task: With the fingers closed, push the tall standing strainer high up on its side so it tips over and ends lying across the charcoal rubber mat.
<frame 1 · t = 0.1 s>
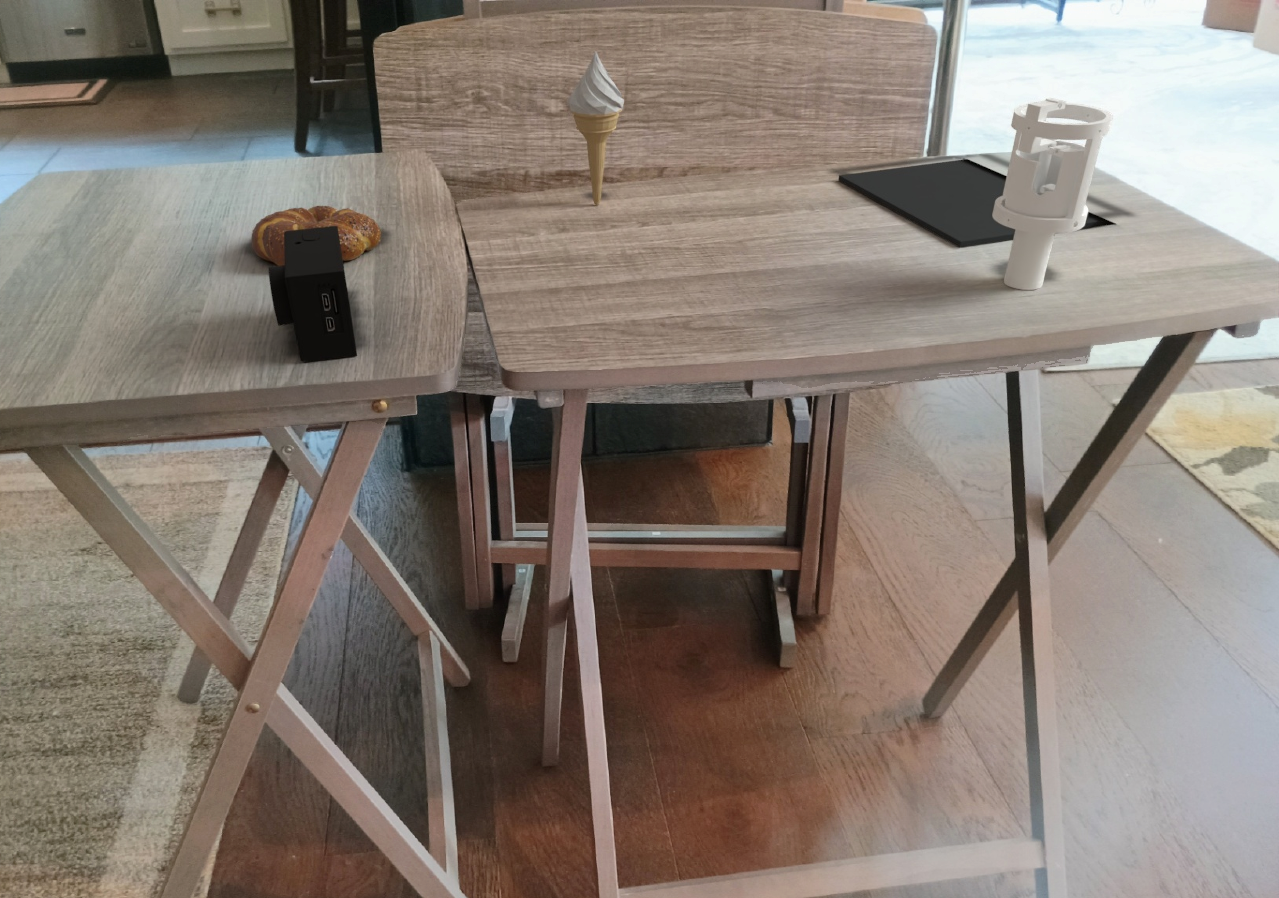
digital camera: (319, 335, 83), on the table
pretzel: (319, 252, 99), on the table
ice cream cone: (596, 206, 108), on the table
mat: (971, 200, 105), on the table
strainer: (1022, 284, 88), on the table
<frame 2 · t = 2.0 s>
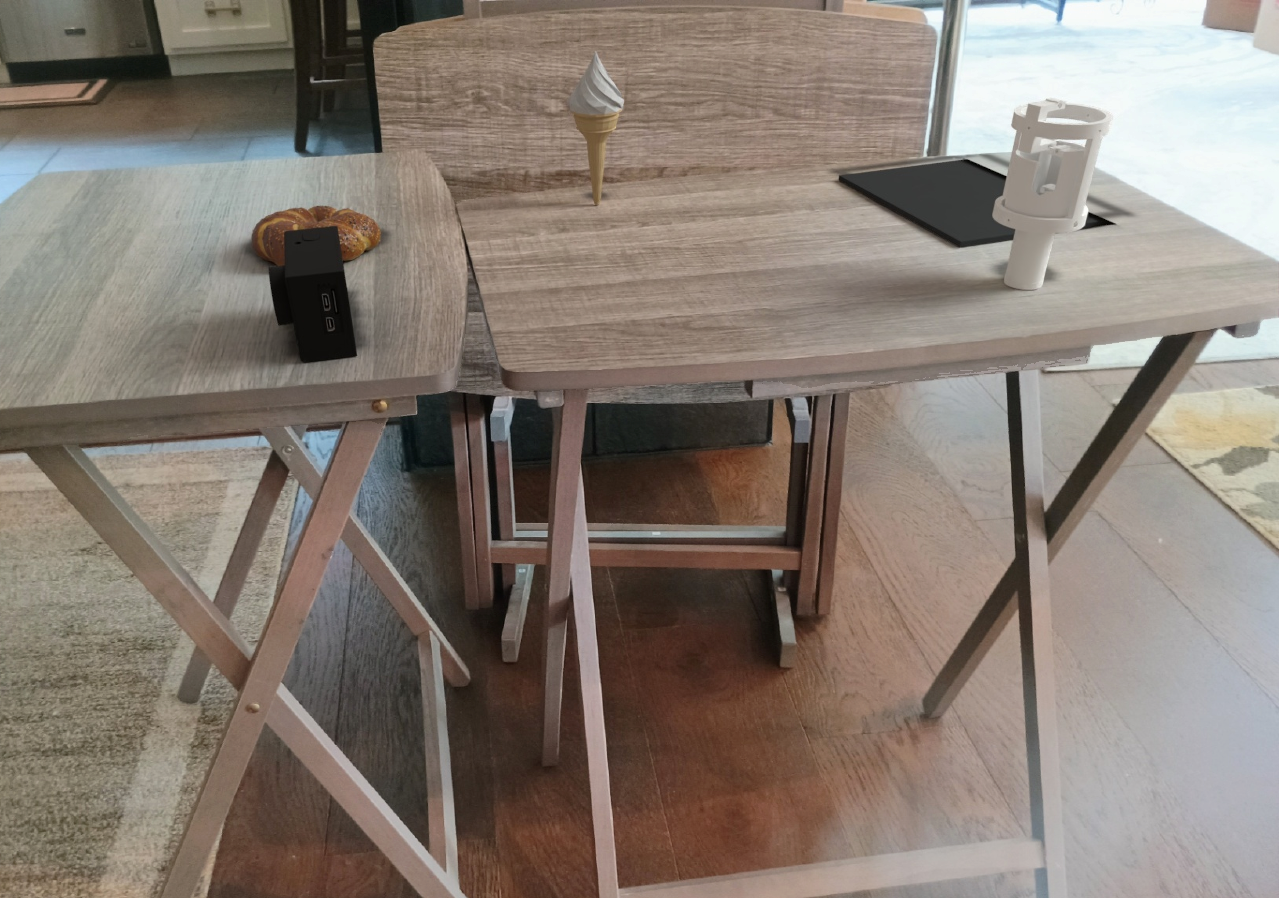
nothing on the table moved.
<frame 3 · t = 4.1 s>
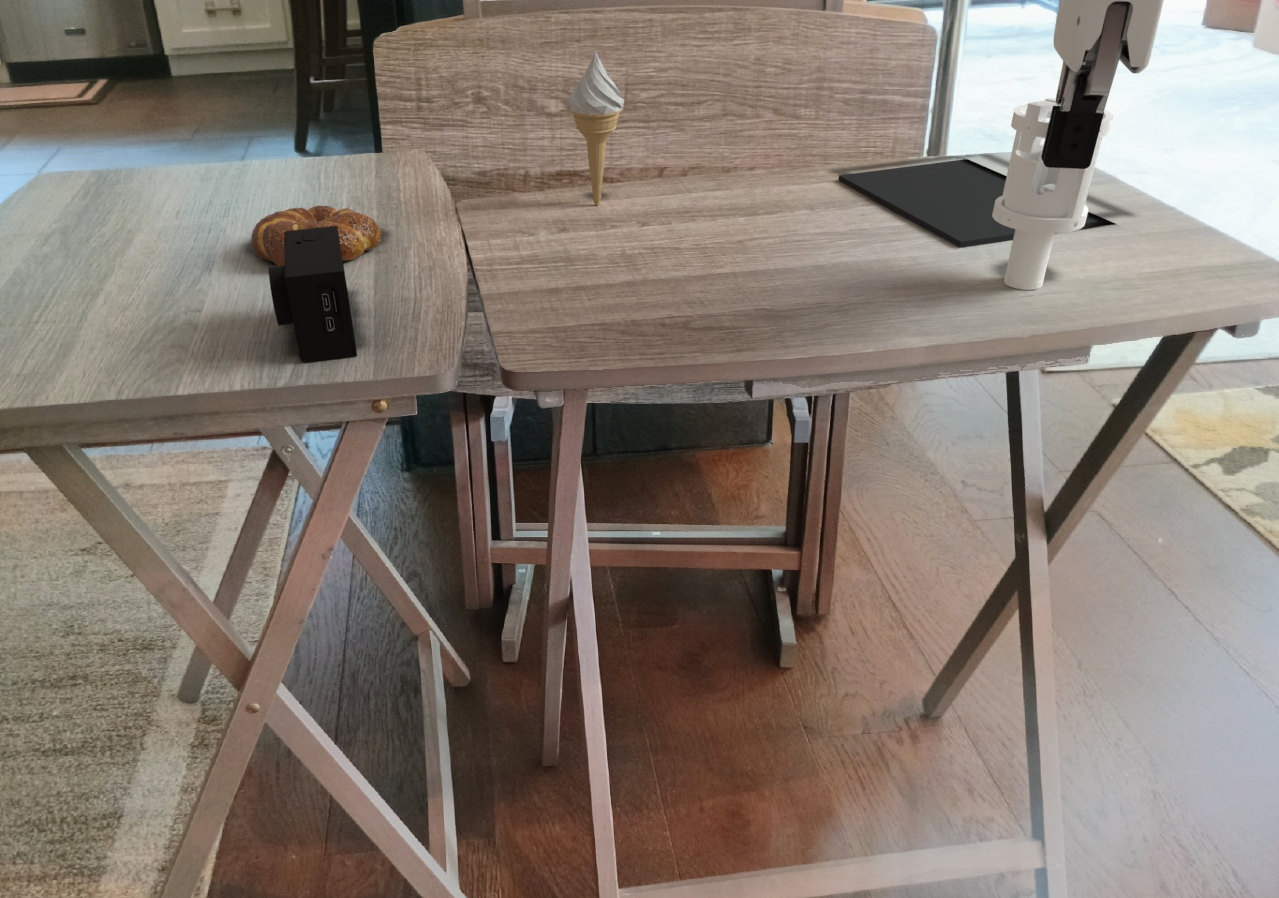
hand: (1064, 164, 77), 12 cm above the table, tool pointing down, fingers closed
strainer: (1022, 284, 88), on the table, touching gripper
everything else where it was.
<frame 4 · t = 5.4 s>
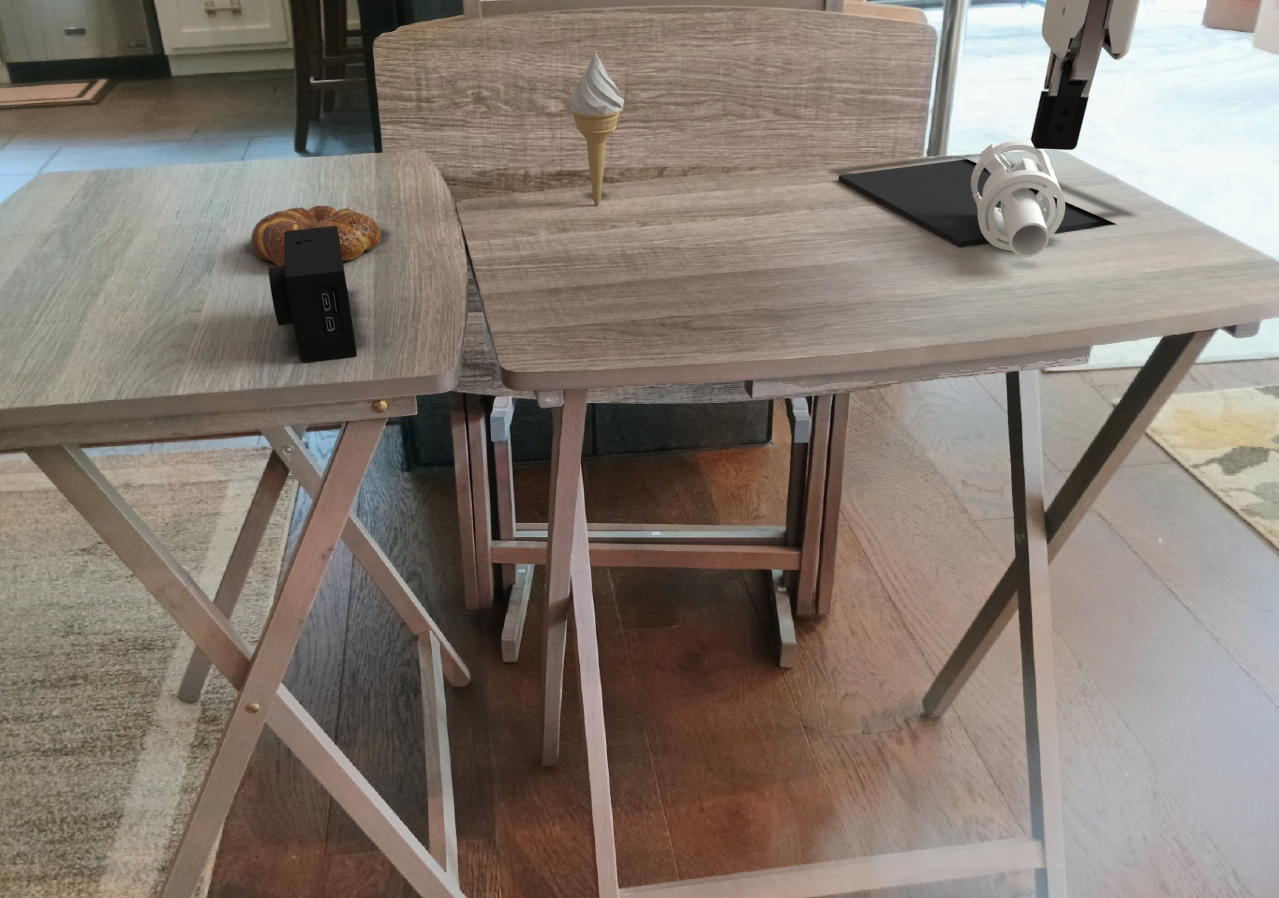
hand: (1052, 145, 82), 11 cm above the table, tool pointing down, fingers closed
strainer: (1029, 241, 87), point 3 cm above the table, touching mat
everything else where it was.
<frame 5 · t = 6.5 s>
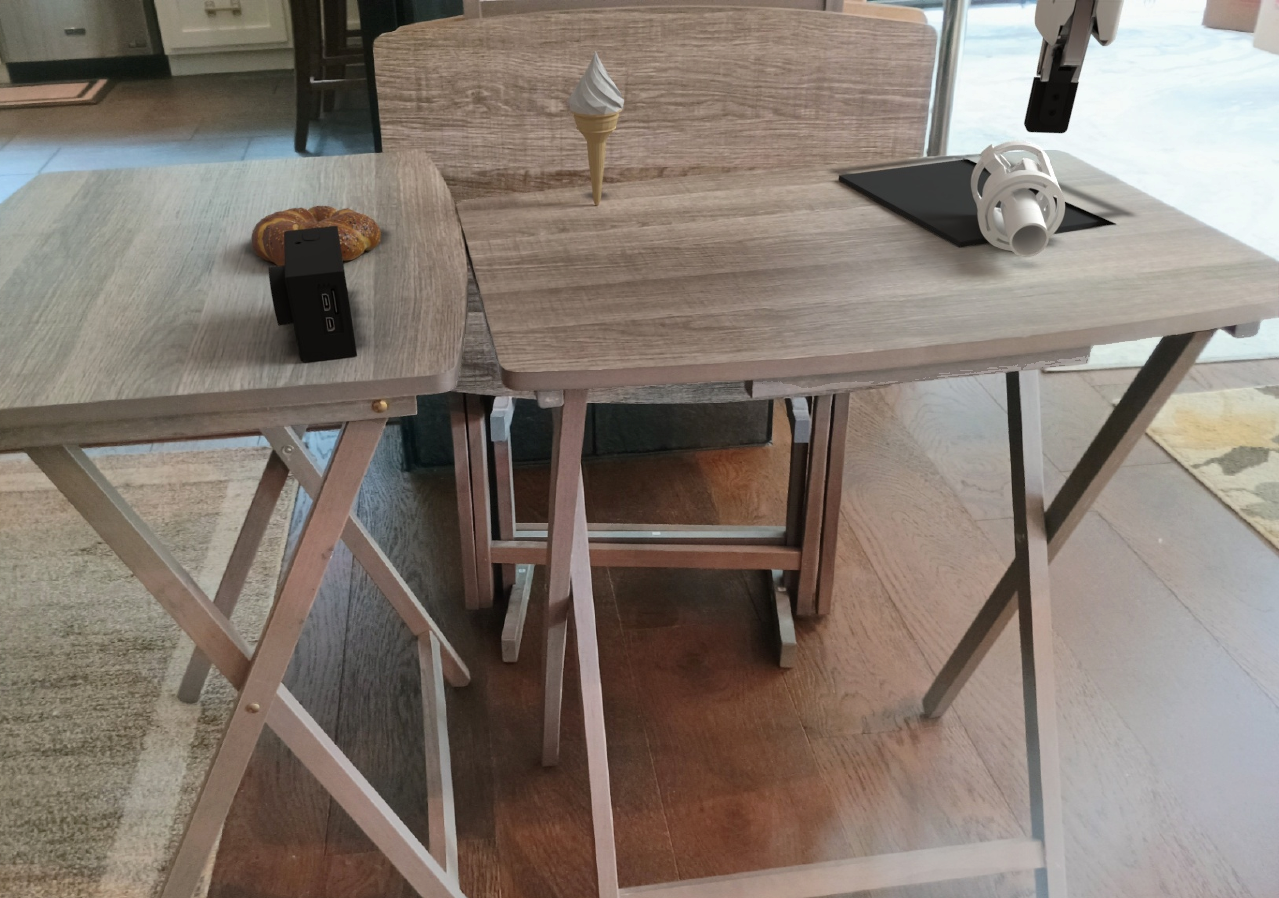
hand: (1044, 129, 86), 11 cm above the table, tool pointing down, fingers closed
nothing on the table moved.
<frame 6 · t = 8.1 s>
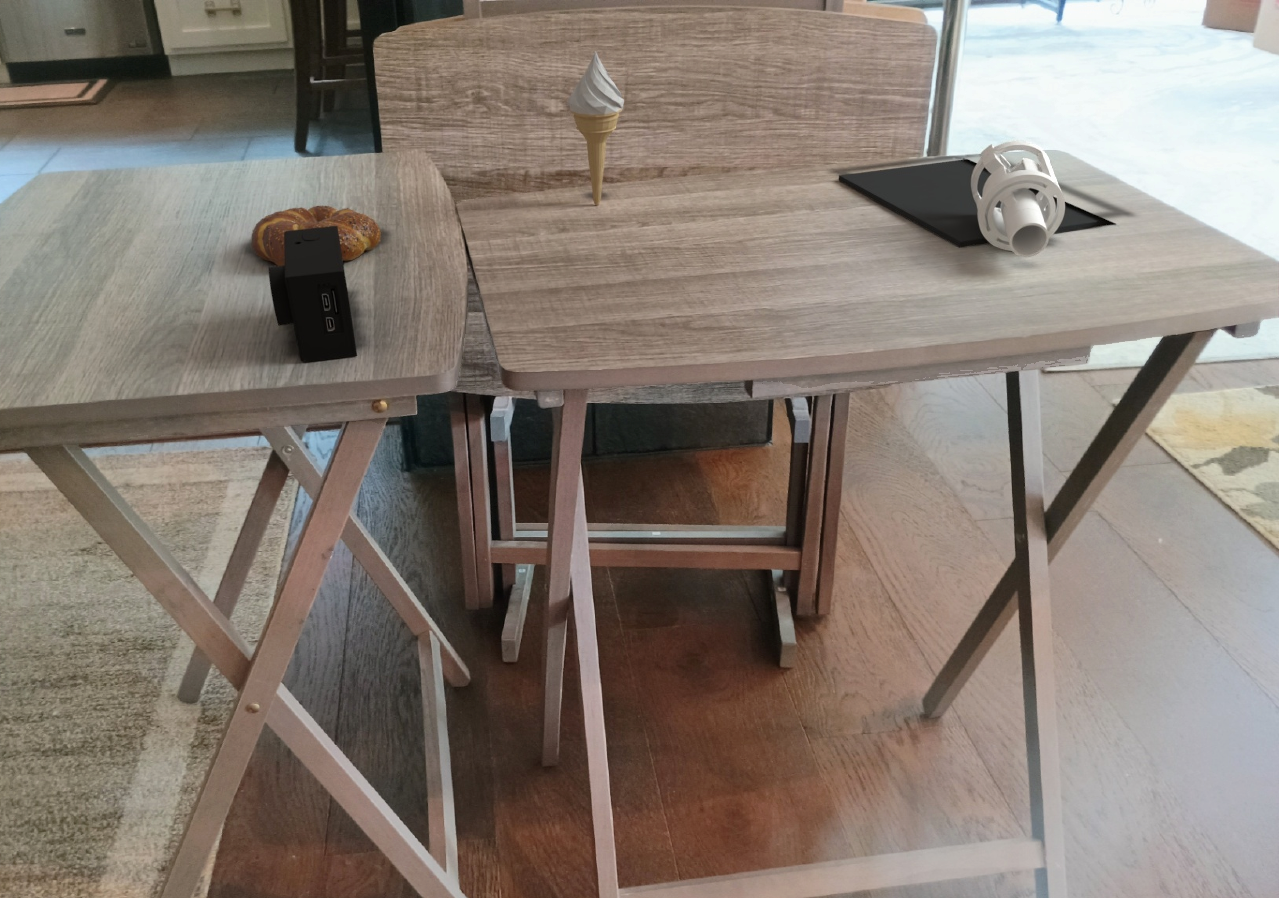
nothing on the table moved.
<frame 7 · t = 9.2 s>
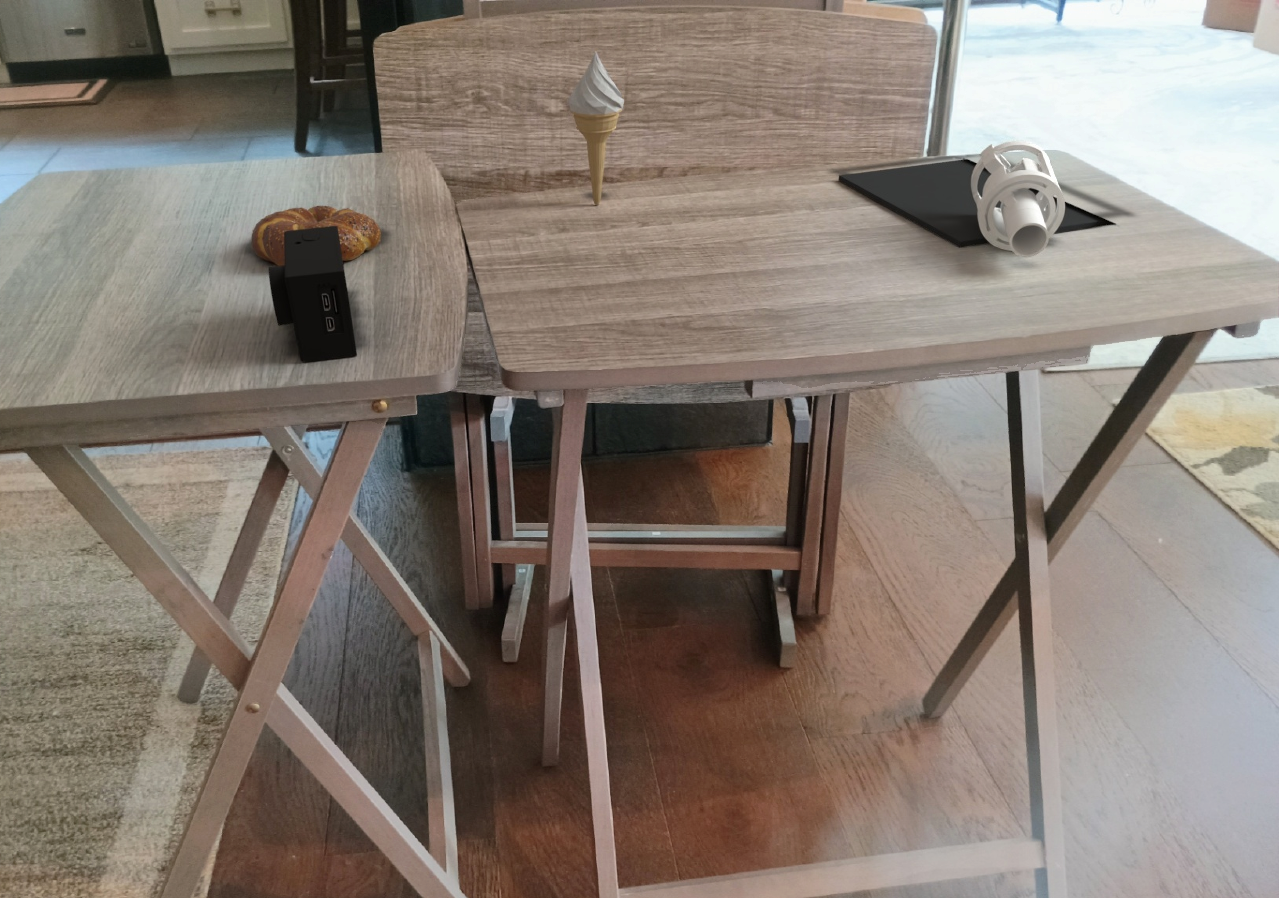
nothing on the table moved.
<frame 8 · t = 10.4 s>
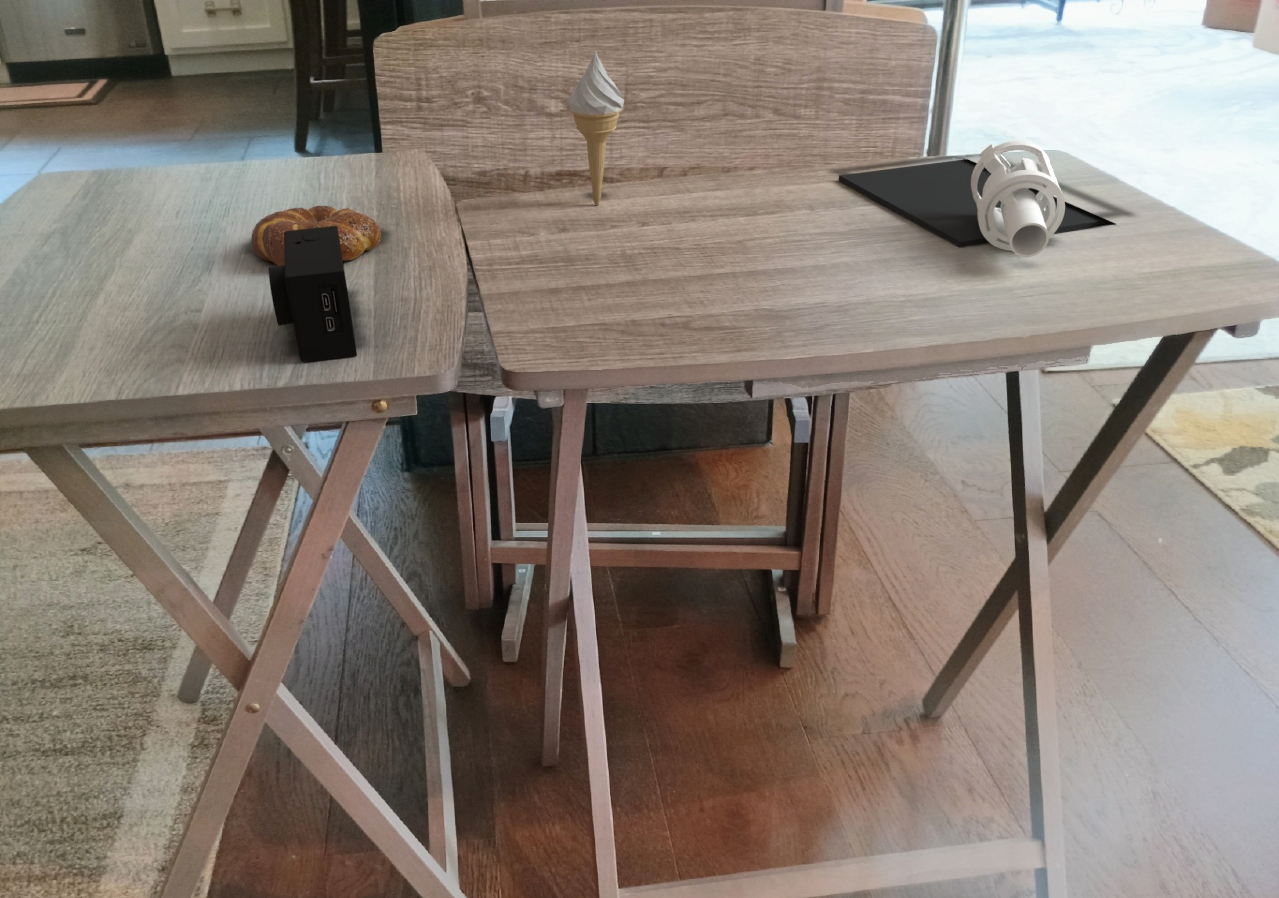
nothing on the table moved.
at the end: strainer tilted 85°; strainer touching mat, table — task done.
